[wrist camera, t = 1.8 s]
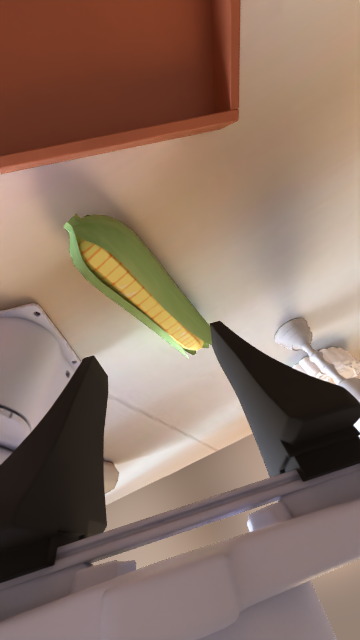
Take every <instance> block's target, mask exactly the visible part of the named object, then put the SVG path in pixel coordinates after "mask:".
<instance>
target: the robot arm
mask: <svg viewBox="0 0 360 640" xmlns="http://www.w3.org/2000/svg"><path fill="white" fill-rule="evenodd" d="M35 312H39V313H40V314H37V313H35ZM210 329H211V339H212V347H213V349H214V352H215V354H216V357H217V359H218V361H219V363H220V365H221V367H222V369H223V371H224V372H225V374H226V376H227V378H228V380H229V382H230V383H231V385H232V387H233V389H234V391H235V393H236V395H237V397H238V399H239V401H240V404H241V406H242V408H243V411H244V413H245V415H246V418H247V420H248V422H249V425H250V427H251V430H252V432H253V435H254V437H255V440H256V442H257V445H258V447H259V450H260V453H261V455H262V457H263V460H264V463H265V466H266V468H267V471H268V474H269V476H270V478H268V479H264V480H262V481H259V482H255V483H252V484H249V485H247V486H243V487H240V488H237V489H234V490H231V491H228V492H225V493H222V494H219V495H216V496H213V497H210V498H207V499H204V500H201V501H198V502H195V503H192V504H188V505H185V506H182V507H180V508H176V509H174V510H170V511H167V512H164V513H162V514H158V515H155V516H152V517H149V518H146V519H143V520H140V521H137V522H134V523H131V524H128V525H125V526H122V527H119V528H116V529H112V530H109V531H107V532H104V530H105V528H106V526H107V521H106V508H105V491H104V458H103V450H104V426H105V417H106V408H107V399H108V376H107V374H106V373H105V371H104V370H103V368H102V367H101V365H100V364H99V362H98V361H97V359H96V358H95V356H90V357H86V358H84V359H83V360H82V362H81V361H80V359H79V358H78V357H77V355H76V354H75V353H74V351H73V350H72V349H71V347H70V346H69V345H68V343H67V342H66V340H65V339H64V338H63V336H62V335H61V334H60V332H59V331H58V330H57V328H56V327H55V326H54V324H53V323H52V322H51V320H50V319H49V318H48V316H47V315H46V314H45V312H44V311H43V309H42V308H41V307H40V306H39V305H38V304H35V303H31V304H27V305H23V306H19V307H15V308H11V309H7V310H3V311H0V640H337V639H336V636H335V634H334V632H333V630H332V628H331V625H330V623H329V621H328V619H327V616H326V614H325V612H324V610H323V607H322V605H321V603H320V601H319V599H318V596H317V594H316V592H315V589H314V587H313V585H312V583H311V580H312V579H314V578H316V577H319V576H321V575H323V574H326V573H328V572H331V571H333V570H335V569H338V568H340V567H342V566H345V565H347V564H349V563H351V562H354V561H356V560H358V559H360V437H359V435H360V432H359V431H358V430H357V428H356V427H355V426H354V424H355V423H356V422H357V421H358V420H359V418H360V402H359V401H358V400H357V399H356V398H355V397H354V396H353V395H352V394H351V393H350V392H349V391H347V390H346V389H345V388H344V387H342V386H339V385H336V384H333V383H330V382H327V381H324V380H321V379H318V378H315V377H313V376H310V375H308V374H305V373H303V372H300V371H298V370H296V369H294V368H291V367H289V366H287V365H285V364H283V363H281V362H279V361H277V360H275V359H273V358H271V357H270V356H268V355H266V354H264V353H263V352H261V351H259V350H258V349H256V348H255V347H253V346H252V345H250V344H249V343H247V342H246V341H245V340H243V339H242V338H240V337H239V336H238V335H236V334H235V333H234V332H233V331H231V330H230V329H229V328H228V327H227V326H225V325H224V324H223V323H222V322H221V321H217V322H214V323H210ZM277 500H278V503H275V504H271V505H269V506H267V507H265V508H262V509H260V510H258V511H256V512H254V513H251V514H249V515H248V520H249V521H248V523H247V525H248V528H249V531H250V532H249V533H245V534H242V535H239V536H236V537H233V538H229V539H226V540H223V541H220V542H217V543H213V544H210V545H207V546H204V547H201V548H198V549H195V550H192V551H189V552H186V553H183V554H180V555H177V556H174V557H171V558H168V559H165V560H162V561H159V562H157V563H154V564H151V565H148V566H146V567H143V568H140V569H137V570H136V562H135V560H132V561H125V562H119V561H117V560H114V561H111V562H107V563H103V564H99V565H96V566H93V564H91V563H93V562H96V561H99V560H102V559H105V558H108V557H111V556H114V555H117V554H119V553H123V552H126V551H129V550H132V549H135V548H137V547H141V546H144V545H146V544H150V543H152V542H155V541H158V540H161V539H164V538H167V537H170V536H173V535H176V534H179V533H182V532H185V531H188V530H191V529H194V528H197V527H200V526H203V525H206V524H209V523H211V522H215V521H218V520H221V519H224V518H227V517H229V516H233V515H236V514H238V513H241V512H245V511H247V510H250V509H253V508H256V507H259V506H262V505H265V504H268V503H271V502H274V501H277Z"/></svg>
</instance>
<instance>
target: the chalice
mask: <svg viewBox="0 0 360 640" xmlns="http://www.w3.org/2000/svg"><path fill="white" fill-rule="evenodd" d="M275 341H276V343H277V344H279V345H282V346H284V347H286V348H288V349H289V350H295V351H298V350H304V351H306V352H307V353H308V355H309V357H310V359H309V360H310V361H312V362H316V363H317V364H319V366H320V367H321V371H322V373H326V374H327V375H329V376H330V377H332V378H333V379H334V381H335V382H336V384H337V385H339V386H342V387H344V388H345V389H346V390H347V391H349V392H350V393H351V394H352V395H353V396H354V397H355V398H356V399H357V400H358V401H359V402H360V379H358V378H347V379H346V378H344V377H343V376H341V375H340V374H339V373H338V371H337V370H336V369H335V365H334V364H331V363H329V362H327V361H325V360H324V358H323V353H322V352H317V351H316V350H314V349H313V348H312V347H311V345H310V344H311V343H310V342H311V341H312V332H311V331H310V327H309V326H308V323H307V321H306V320H305V319H302V318H297V319H293V320H290V321H288V322H287V323H285V324H284V325H283V326H281V327H280V329H279V330H278V331H277V333H276V335H275ZM354 426H355V427H356V428H357V430H358V431H359V432H360V418H359V420H358V421H357V422H356V423H355V424H354ZM359 437H360V435H359Z"/></svg>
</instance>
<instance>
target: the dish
mask: <svg viewBox="0 0 360 640" xmlns="http://www.w3.org/2000/svg"><path fill="white" fill-rule="evenodd" d="M239 59H240V0H0V174H3V173H8V172H13V171H18V170H23V169H28V168H33V167H38V166H42V165H47V164H52V163H57V162H62V161H67V160H72V159H77V158H82V157H87V156H92V155H97V154H101V153H106V152H111V151H116V150H121V149H126V148H131V147H136V146H141V145H146V144H151V143H156V142H160V141H165V140H170V139H175V138H180V137H185V136H190V135H195V134H200V133H205V132H210V131H215V130H219V129H221V128H224V127H226V126H228V125H230V124H232V123H234V122H237V121H238V119H239V109H238V108H239Z"/></svg>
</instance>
